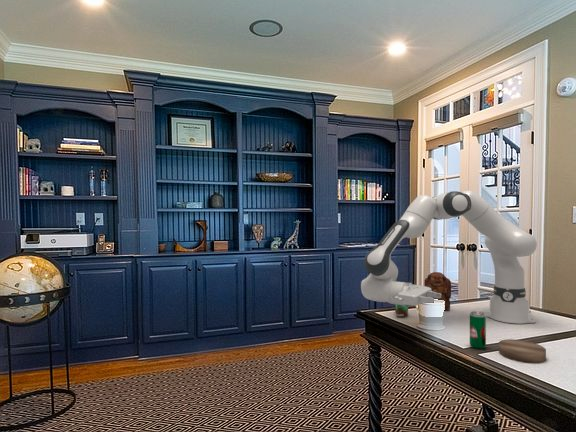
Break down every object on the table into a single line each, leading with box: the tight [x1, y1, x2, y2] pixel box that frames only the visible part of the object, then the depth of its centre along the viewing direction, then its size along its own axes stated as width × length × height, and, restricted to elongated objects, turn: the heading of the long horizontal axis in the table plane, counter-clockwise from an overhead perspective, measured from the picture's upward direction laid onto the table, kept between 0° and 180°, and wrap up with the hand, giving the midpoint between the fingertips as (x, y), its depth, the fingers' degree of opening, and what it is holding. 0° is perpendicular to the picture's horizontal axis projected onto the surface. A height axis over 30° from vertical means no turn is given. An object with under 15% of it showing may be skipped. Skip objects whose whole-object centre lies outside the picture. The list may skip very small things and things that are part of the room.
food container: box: [394, 304, 409, 319], centre depth 170 cm, size 12×6×10 cm, turn 168°
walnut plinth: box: [498, 338, 547, 364], centre depth 122 cm, size 13×13×3 cm
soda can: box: [469, 310, 487, 350], centre depth 129 cm, size 5×5×12 cm
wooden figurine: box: [424, 271, 452, 312], centre depth 180 cm, size 12×6×18 cm, turn 77°
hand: (437, 298), depth 137 cm, fingers open, 8 cm apart
